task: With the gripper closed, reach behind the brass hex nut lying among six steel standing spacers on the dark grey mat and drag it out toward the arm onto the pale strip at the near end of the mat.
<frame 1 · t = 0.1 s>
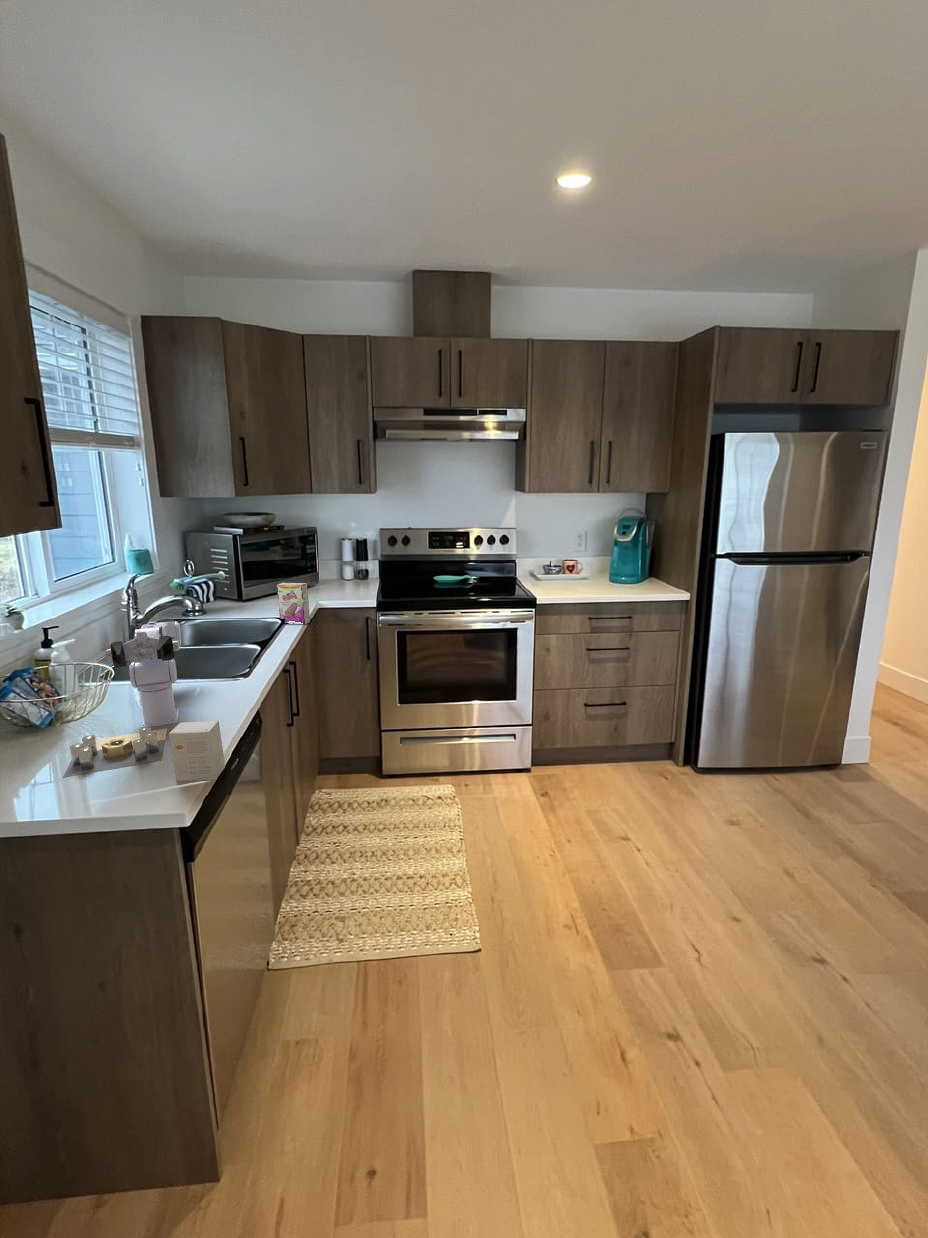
hand: (139, 656, 133), 22 cm above the counter, tool horizontal, fingers open, 7 cm apart
brass nut: (118, 753, 137), resting on spacer mat
small box: (201, 776, 126), on the counter
candy bar box: (295, 624, 256), on the counter
standing spacers: (119, 750, 138), resting on spacer mat
spacer mat: (119, 752, 138), on the counter
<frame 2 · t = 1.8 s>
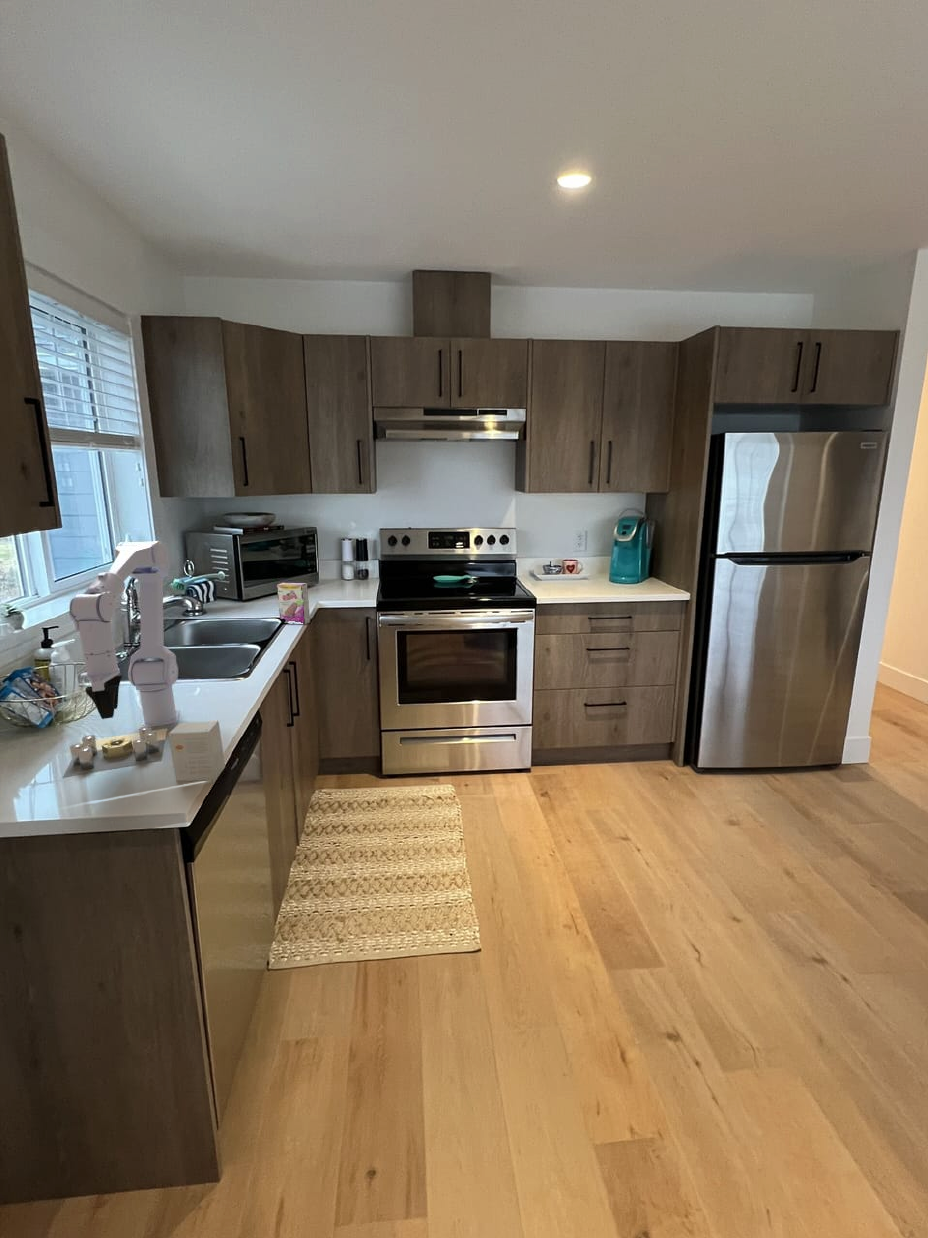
hand: (109, 713, 132), 10 cm above the counter, tool pointing down, fingers open, 5 cm apart
nothing on the counter moved.
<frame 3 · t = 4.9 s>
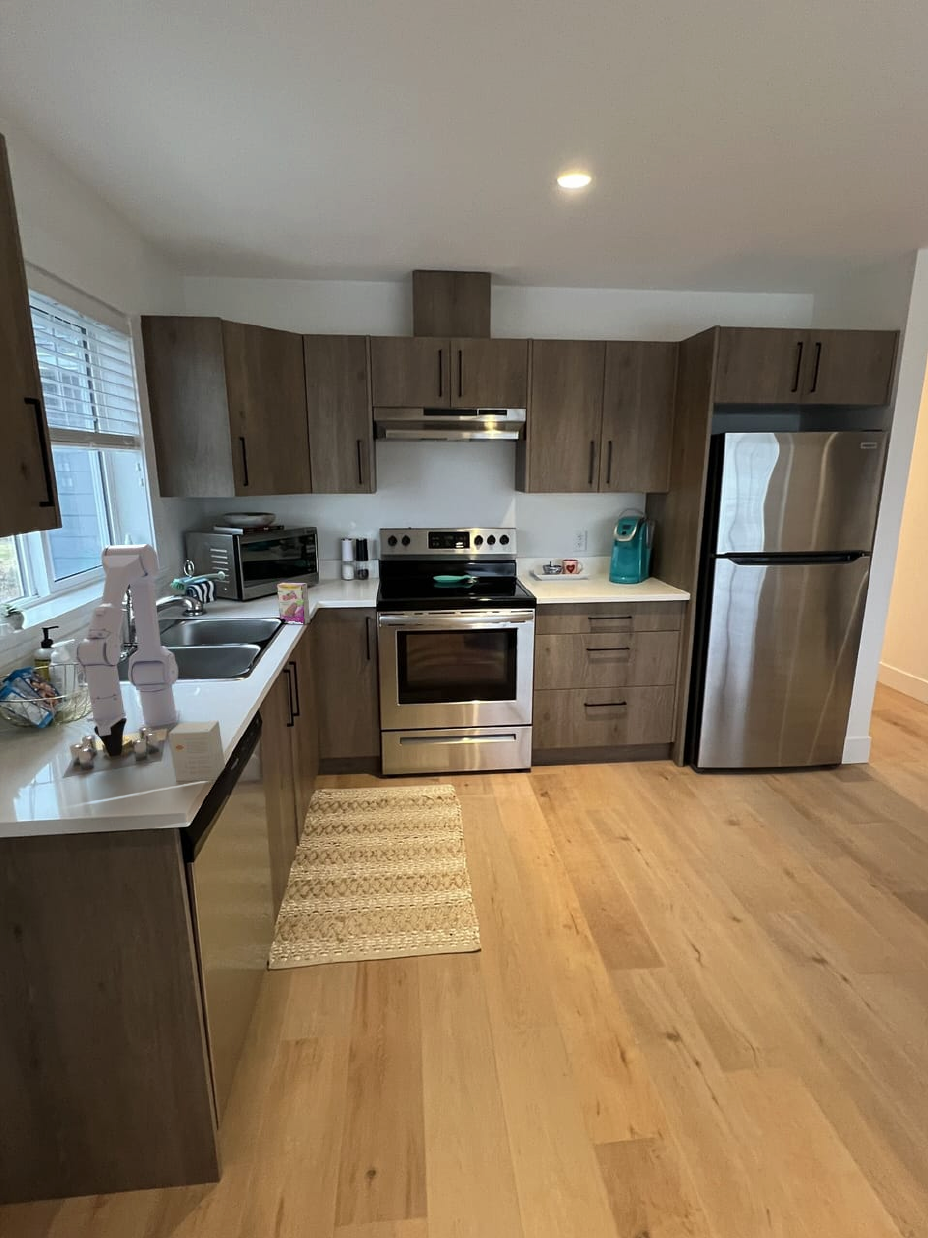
hand: (115, 755, 134), 1 cm above the counter, tool pointing down, fingers closed
brass nut: (118, 752, 137), resting on spacer mat, touching gripper
everything else where it was.
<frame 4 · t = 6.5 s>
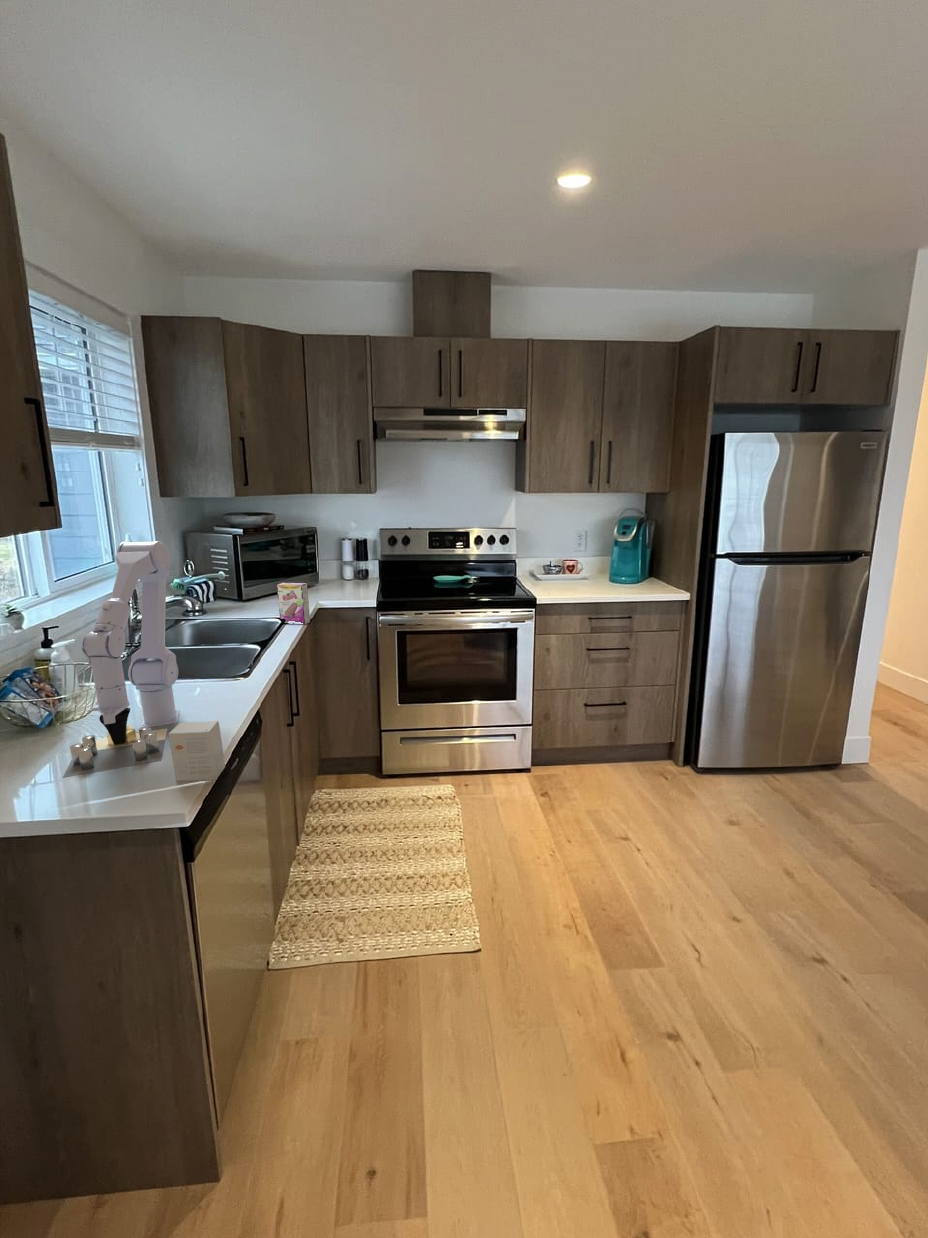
hand: (119, 743, 139), 1 cm above the counter, tool pointing down, fingers closed
brass nut: (122, 741, 143), resting on spacer mat, touching gripper
everything else where it was.
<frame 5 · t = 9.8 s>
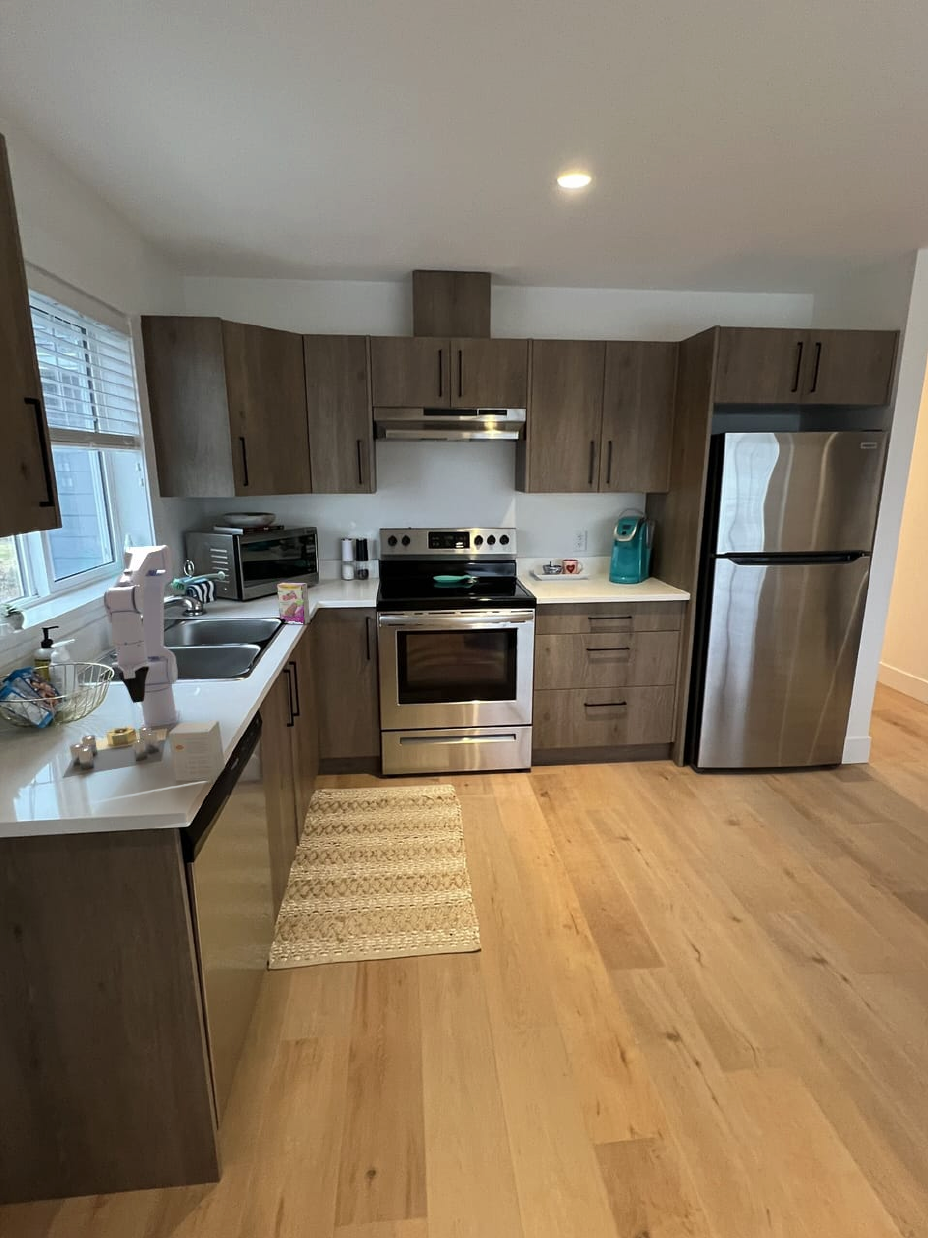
hand: (138, 701, 139), 10 cm above the counter, tool pointing down, fingers closed
brass nut: (122, 741, 143), resting on spacer mat
everything else where it was.
at the end: brass nut 0.3 cm from the target spot, resting on spacer mat; brass nut tilted 0°; brass nut moved 7.0 cm from its start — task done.
